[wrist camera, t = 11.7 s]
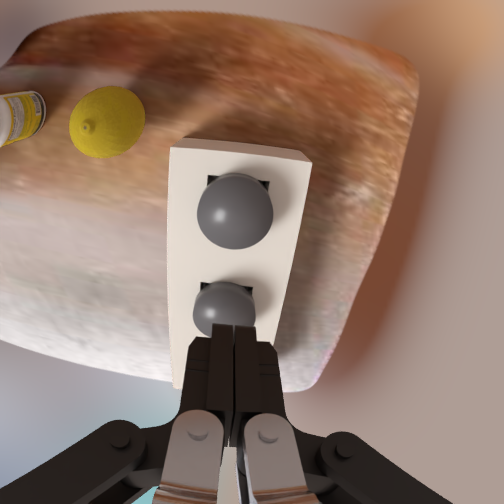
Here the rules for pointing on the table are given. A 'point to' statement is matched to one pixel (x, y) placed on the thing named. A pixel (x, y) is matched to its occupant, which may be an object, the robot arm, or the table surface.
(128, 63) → the table surface
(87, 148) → the lemon
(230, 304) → the knob middle
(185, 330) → the knob panel
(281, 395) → the robot arm
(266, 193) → the knob
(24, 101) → the supplement bottle
